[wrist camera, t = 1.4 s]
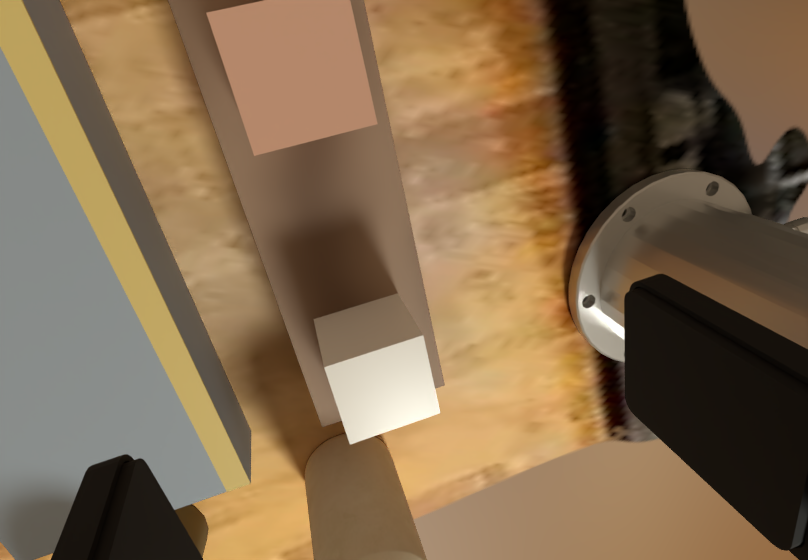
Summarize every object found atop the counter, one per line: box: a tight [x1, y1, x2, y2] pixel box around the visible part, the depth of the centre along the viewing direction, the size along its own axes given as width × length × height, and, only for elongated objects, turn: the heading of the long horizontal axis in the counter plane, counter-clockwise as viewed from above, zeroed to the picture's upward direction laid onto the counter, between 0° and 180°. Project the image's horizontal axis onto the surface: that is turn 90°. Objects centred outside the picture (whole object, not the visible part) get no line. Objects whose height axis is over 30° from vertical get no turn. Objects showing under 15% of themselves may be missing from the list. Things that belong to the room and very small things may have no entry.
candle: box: [305, 433, 427, 560], centre depth 28 cm, size 6×6×10 cm
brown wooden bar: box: [168, 0, 445, 427], centre depth 23 cm, size 6×20×4 cm, turn 12°
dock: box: [0, 0, 251, 560], centre depth 21 cm, size 11×24×4 cm, turn 12°
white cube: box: [313, 293, 440, 445], centre depth 22 cm, size 4×4×4 cm
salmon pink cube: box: [206, 0, 378, 156], centre depth 17 cm, size 4×4×4 cm
